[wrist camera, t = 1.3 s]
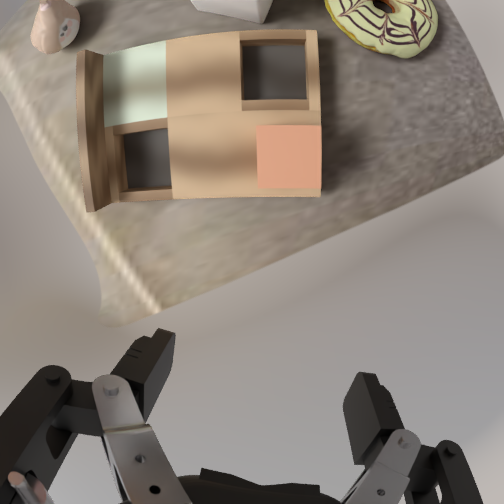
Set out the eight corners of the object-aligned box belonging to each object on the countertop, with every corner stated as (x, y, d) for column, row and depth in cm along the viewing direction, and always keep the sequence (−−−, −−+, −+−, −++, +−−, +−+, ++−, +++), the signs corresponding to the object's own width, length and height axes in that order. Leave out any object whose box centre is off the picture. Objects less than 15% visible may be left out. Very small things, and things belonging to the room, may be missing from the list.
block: (259, 126, 26) (256, 125, 23) (315, 126, 26) (321, 125, 22) (260, 180, 28) (257, 188, 24) (315, 180, 28) (321, 188, 24)
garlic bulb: (97, 27, 25) (57, 10, 17) (61, 65, 27) (17, 58, 19) (77, 0, 23) (38, -17, 16) (43, 36, 25) (2, 27, 17)
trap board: (107, 61, 26) (76, 52, 21) (313, 37, 25) (321, 17, 19) (114, 198, 32) (86, 212, 27) (317, 191, 30) (326, 205, 25)
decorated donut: (417, 77, 25) (434, 72, 21) (311, 36, 25) (316, 24, 21) (431, -2, 21) (447, -13, 17) (333, -42, 20) (339, -59, 17)
